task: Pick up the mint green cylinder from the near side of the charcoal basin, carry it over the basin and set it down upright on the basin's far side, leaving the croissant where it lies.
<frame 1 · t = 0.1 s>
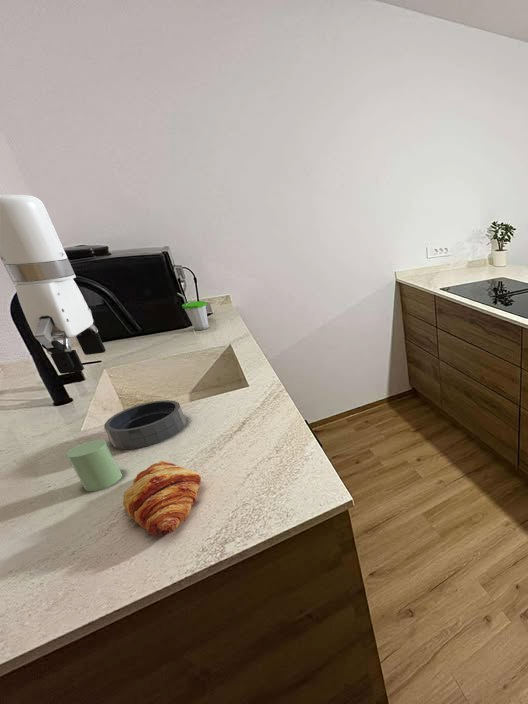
hand: (84, 362, 72), 19 cm above the counter, tool pointing down, fingers open, 9 cm apart
basin: (152, 434, 83), on the counter
cup: (202, 329, 150), on the counter
croissant: (169, 503, 64), on the counter
mint green cylinder: (105, 483, 68), on the counter
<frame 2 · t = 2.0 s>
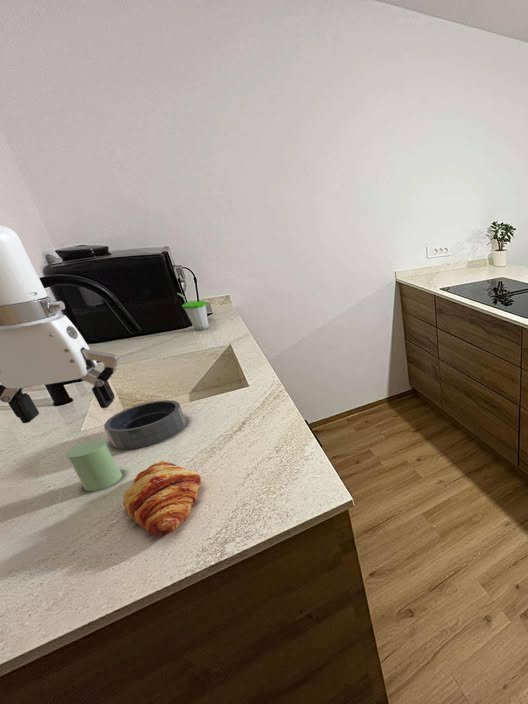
hand: (71, 411, 63), 15 cm above the counter, tool pointing down, fingers open, 9 cm apart
nothing on the counter moved.
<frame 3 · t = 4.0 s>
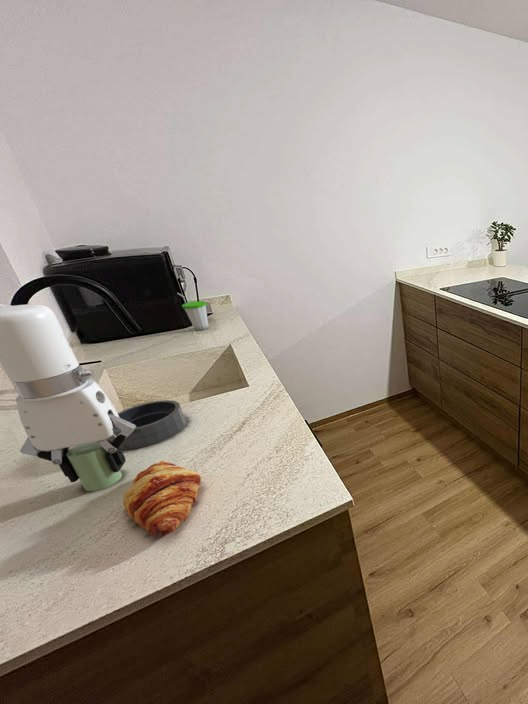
hand: (98, 471, 67), 3 cm above the counter, tool pointing down, fingers closed on mint green cylinder, 5 cm apart
mint green cylinder: (105, 483, 68), on the counter, touching gripper
everything else where it was.
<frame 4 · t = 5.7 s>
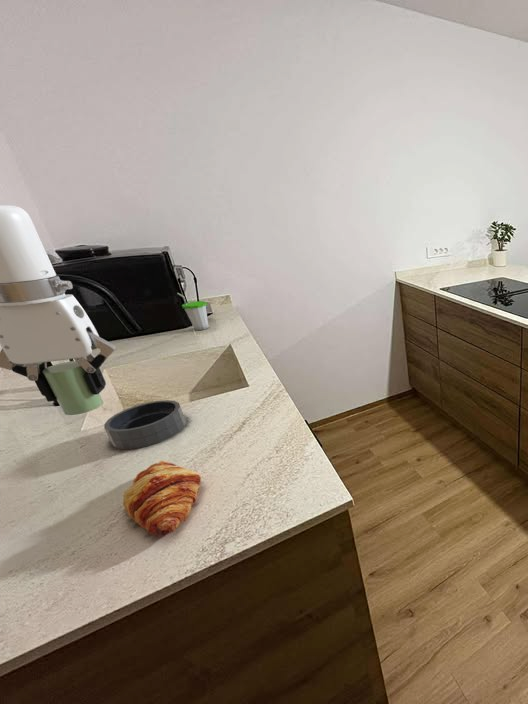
hand: (77, 393, 65), 17 cm above the counter, tool pointing down, fingers closed on mint green cylinder, 5 cm apart
mint green cylinder: (84, 407, 66), point 14 cm above the counter, touching gripper
everything else where it was.
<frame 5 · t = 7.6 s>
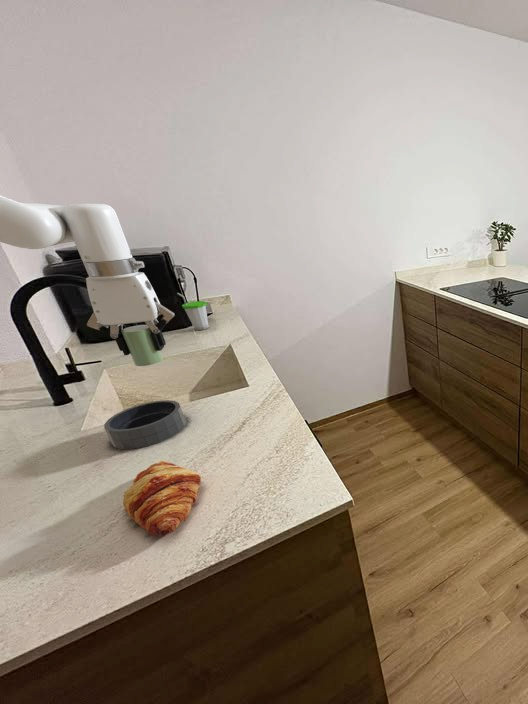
hand: (144, 350, 84), 17 cm above the counter, tool pointing down, fingers closed on mint green cylinder, 5 cm apart
mint green cylinder: (149, 361, 85), point 14 cm above the counter, touching gripper
everything else where it was.
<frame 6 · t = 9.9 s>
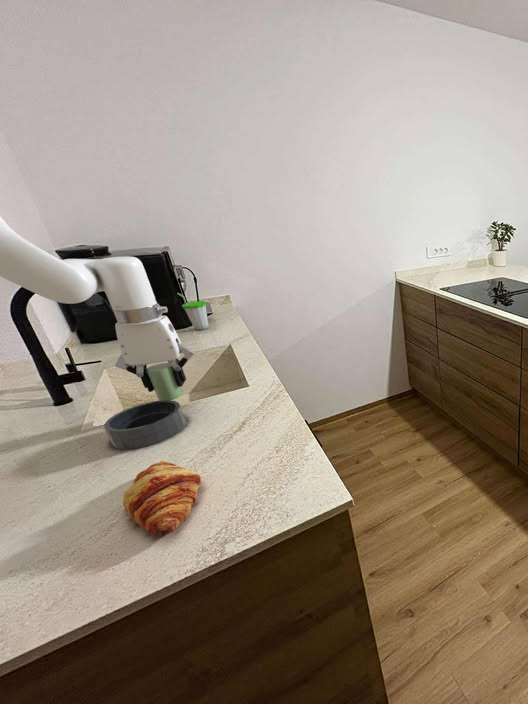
hand: (167, 386, 90), 6 cm above the counter, tool pointing down, fingers closed on mint green cylinder, 5 cm apart
mint green cylinder: (171, 396, 91), point 3 cm above the counter, touching gripper
everything else where it was.
when the fingers open (3 cm above the counter, at t = 11.2 s): mint green cylinder stays where it is, on the counter.
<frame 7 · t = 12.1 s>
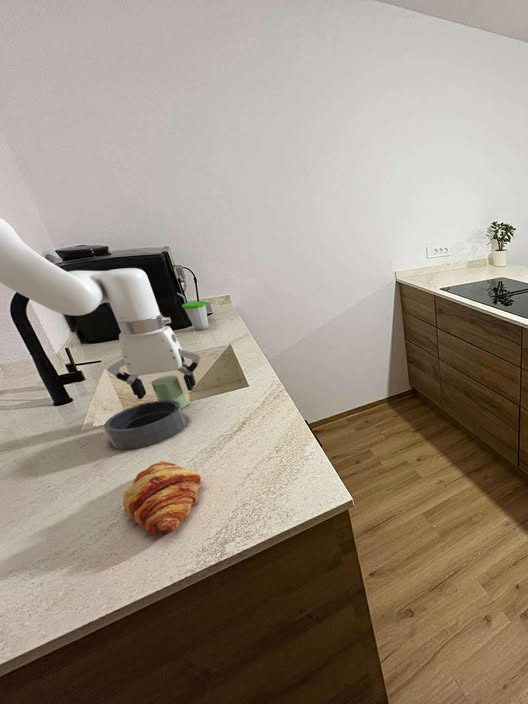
hand: (167, 392, 91), 5 cm above the counter, tool pointing down, fingers open, 9 cm apart
mint green cylinder: (175, 408, 93), on the counter
everything else where it was.
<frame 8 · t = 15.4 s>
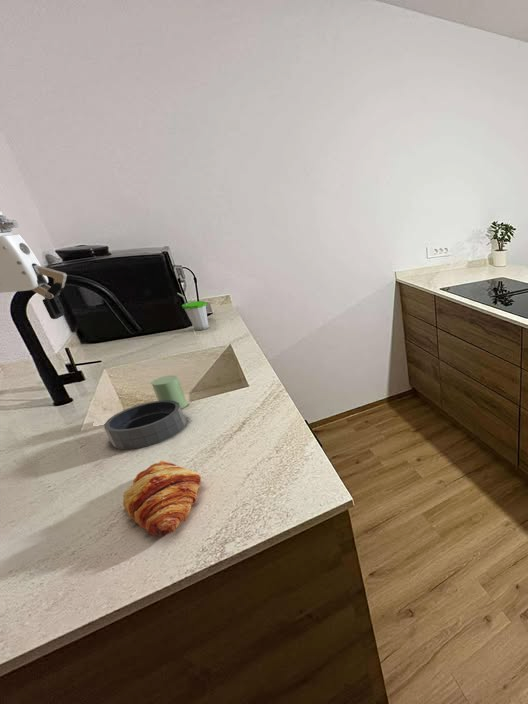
hand: (24, 320, 73), 26 cm above the counter, tool pointing down, fingers open, 9 cm apart
nothing on the counter moved.
at the end: mint green cylinder inside the target area on the counter beside the basin (0.5 cm from its centre), on the counter; mint green cylinder tilted 0°; croissant moved 0.2 cm from its start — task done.
